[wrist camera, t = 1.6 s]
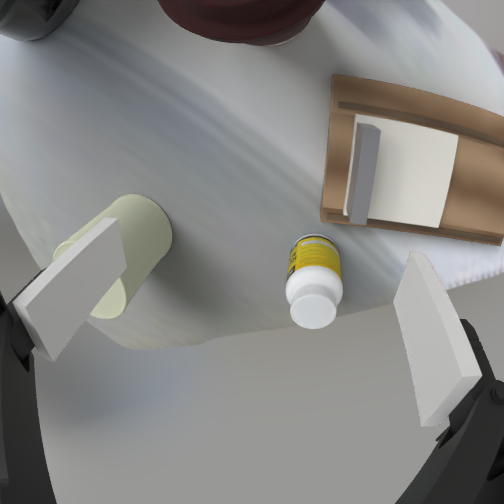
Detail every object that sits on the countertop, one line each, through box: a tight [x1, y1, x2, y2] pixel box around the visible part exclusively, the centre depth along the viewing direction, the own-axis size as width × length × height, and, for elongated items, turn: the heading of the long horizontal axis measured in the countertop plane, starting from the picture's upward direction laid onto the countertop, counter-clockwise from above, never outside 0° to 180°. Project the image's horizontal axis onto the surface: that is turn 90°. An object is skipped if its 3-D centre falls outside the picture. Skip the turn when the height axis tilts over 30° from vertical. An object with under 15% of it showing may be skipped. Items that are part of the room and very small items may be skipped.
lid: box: [343, 114, 459, 228], centre depth 24 cm, size 9×10×4 cm
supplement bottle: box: [286, 234, 343, 329], centre depth 30 cm, size 5×5×10 cm
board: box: [320, 74, 504, 246], centre depth 25 cm, size 14×22×2 cm, turn 89°
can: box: [53, 194, 172, 319], centre depth 31 cm, size 9×9×12 cm
